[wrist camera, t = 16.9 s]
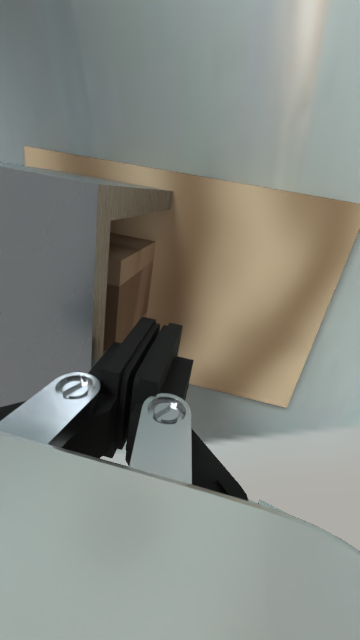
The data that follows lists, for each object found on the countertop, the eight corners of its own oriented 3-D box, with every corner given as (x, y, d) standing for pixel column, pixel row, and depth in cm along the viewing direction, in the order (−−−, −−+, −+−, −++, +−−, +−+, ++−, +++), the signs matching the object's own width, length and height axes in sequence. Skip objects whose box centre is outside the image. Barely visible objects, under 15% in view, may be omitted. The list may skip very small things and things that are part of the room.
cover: (62, 342, 22) (-57, 442, 13) (60, 170, 17) (-132, 142, 8) (149, 363, 22) (86, 483, 13) (172, 191, 17) (97, 184, 8)
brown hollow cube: (67, 308, 21) (8, 346, 16) (66, 223, 19) (-3, 234, 13) (145, 326, 21) (112, 372, 15) (155, 241, 18) (121, 260, 13)
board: (46, 337, 24) (-41, 402, 17) (39, 149, 19) (-100, 116, 11) (283, 395, 22) (308, 498, 15) (358, 204, 17) (463, 211, 9)
